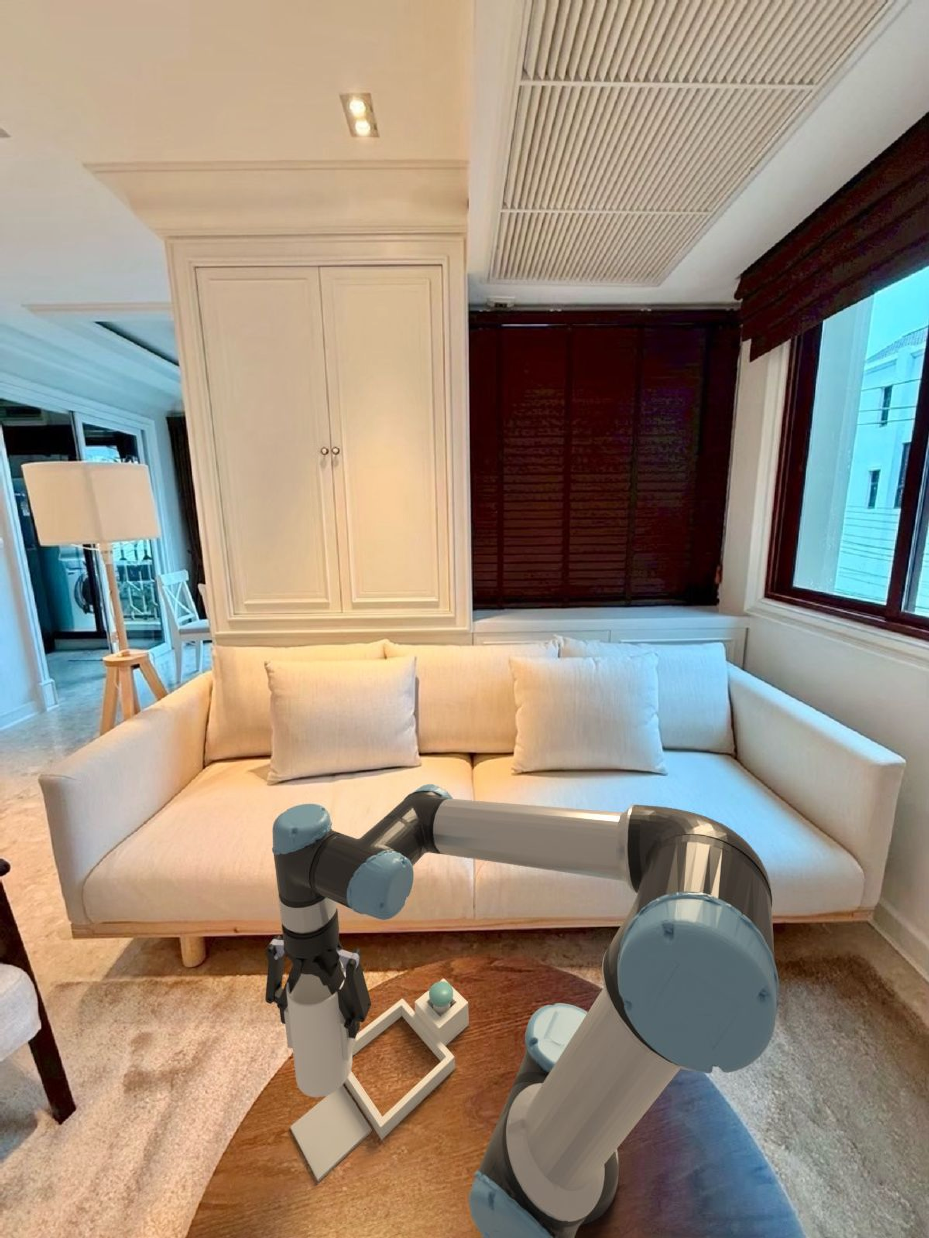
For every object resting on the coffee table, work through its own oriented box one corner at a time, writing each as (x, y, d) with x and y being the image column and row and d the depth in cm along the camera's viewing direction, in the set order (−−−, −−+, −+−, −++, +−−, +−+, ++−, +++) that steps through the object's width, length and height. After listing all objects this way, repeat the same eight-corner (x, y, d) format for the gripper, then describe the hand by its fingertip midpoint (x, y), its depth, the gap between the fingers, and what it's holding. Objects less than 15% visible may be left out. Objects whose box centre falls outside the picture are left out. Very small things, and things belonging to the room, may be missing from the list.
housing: (483, 1040, 94) (483, 1017, 93) (381, 1139, 80) (379, 1114, 78) (431, 986, 105) (430, 965, 104) (332, 1065, 90) (330, 1041, 89)
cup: (343, 1030, 84) (336, 946, 80) (359, 1077, 77) (352, 988, 73) (290, 1056, 80) (281, 970, 77) (302, 1109, 73) (292, 1016, 70)
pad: (371, 1131, 81) (371, 1128, 81) (318, 1182, 75) (317, 1179, 75) (342, 1085, 87) (341, 1083, 87) (290, 1128, 81) (290, 1126, 81)
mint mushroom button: (458, 1013, 96) (458, 992, 95) (440, 1029, 94) (439, 1007, 93) (443, 997, 100) (442, 977, 99) (425, 1012, 97) (424, 991, 96)
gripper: (390, 905, 74) (397, 1034, 79) (258, 884, 78) (272, 1008, 83) (370, 948, 67) (379, 1087, 72) (225, 923, 71) (243, 1055, 76)
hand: (322, 1044), depth 77 cm, fingers closed on cup, 8 cm apart
